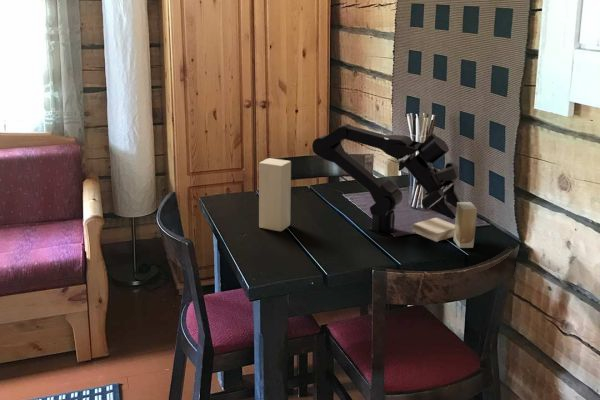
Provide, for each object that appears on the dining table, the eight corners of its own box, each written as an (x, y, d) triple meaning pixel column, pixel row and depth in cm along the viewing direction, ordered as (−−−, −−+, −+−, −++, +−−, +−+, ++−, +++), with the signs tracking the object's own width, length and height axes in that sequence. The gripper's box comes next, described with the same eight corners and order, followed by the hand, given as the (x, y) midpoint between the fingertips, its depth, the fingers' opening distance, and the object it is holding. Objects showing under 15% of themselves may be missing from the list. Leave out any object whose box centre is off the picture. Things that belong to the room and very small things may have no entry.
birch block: (436, 243, 204) (436, 233, 203) (412, 233, 212) (413, 223, 211) (459, 235, 209) (460, 226, 208) (435, 226, 217) (436, 217, 216)
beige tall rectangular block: (292, 224, 217) (292, 160, 210) (281, 231, 211) (281, 165, 204) (269, 220, 220) (269, 157, 214) (258, 227, 214) (257, 162, 207)
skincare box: (452, 240, 205) (456, 201, 201) (467, 240, 205) (470, 201, 201) (459, 248, 199) (462, 208, 195) (474, 248, 199) (477, 208, 195)
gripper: (435, 163, 189) (472, 207, 188) (450, 148, 205) (485, 188, 204) (406, 187, 194) (442, 229, 193) (423, 170, 210) (456, 209, 209)
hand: (457, 213), depth 200 cm, fingers open, 9 cm apart
